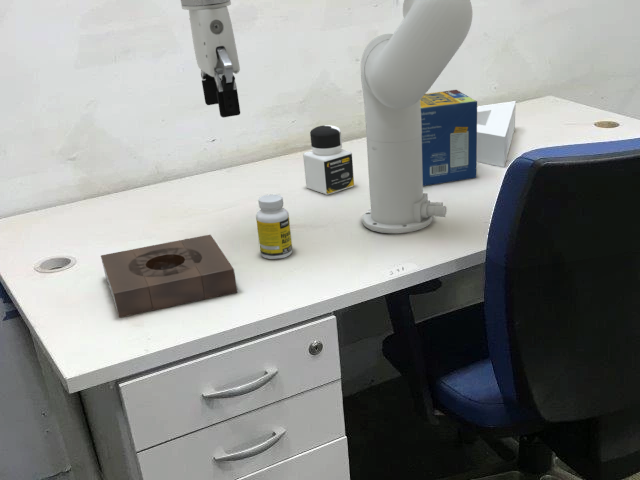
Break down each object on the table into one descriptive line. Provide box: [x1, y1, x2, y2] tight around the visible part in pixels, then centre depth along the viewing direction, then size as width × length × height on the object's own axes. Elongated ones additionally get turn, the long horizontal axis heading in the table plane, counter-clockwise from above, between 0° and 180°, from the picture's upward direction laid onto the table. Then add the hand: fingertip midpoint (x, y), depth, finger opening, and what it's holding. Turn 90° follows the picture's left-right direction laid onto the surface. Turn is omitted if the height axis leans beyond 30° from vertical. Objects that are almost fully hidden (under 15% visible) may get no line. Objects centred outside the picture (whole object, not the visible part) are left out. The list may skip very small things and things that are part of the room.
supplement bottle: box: [255, 193, 293, 260], centre depth 140 cm, size 5×5×10 cm
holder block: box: [100, 234, 238, 318], centre depth 133 cm, size 18×16×4 cm
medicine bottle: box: [302, 124, 355, 196], centre depth 167 cm, size 7×7×12 cm
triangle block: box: [477, 100, 517, 168], centre depth 191 cm, size 30×26×6 cm
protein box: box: [420, 89, 478, 187], centre depth 169 cm, size 10×15×16 cm
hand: (222, 109), depth 138 cm, fingers open, 9 cm apart
